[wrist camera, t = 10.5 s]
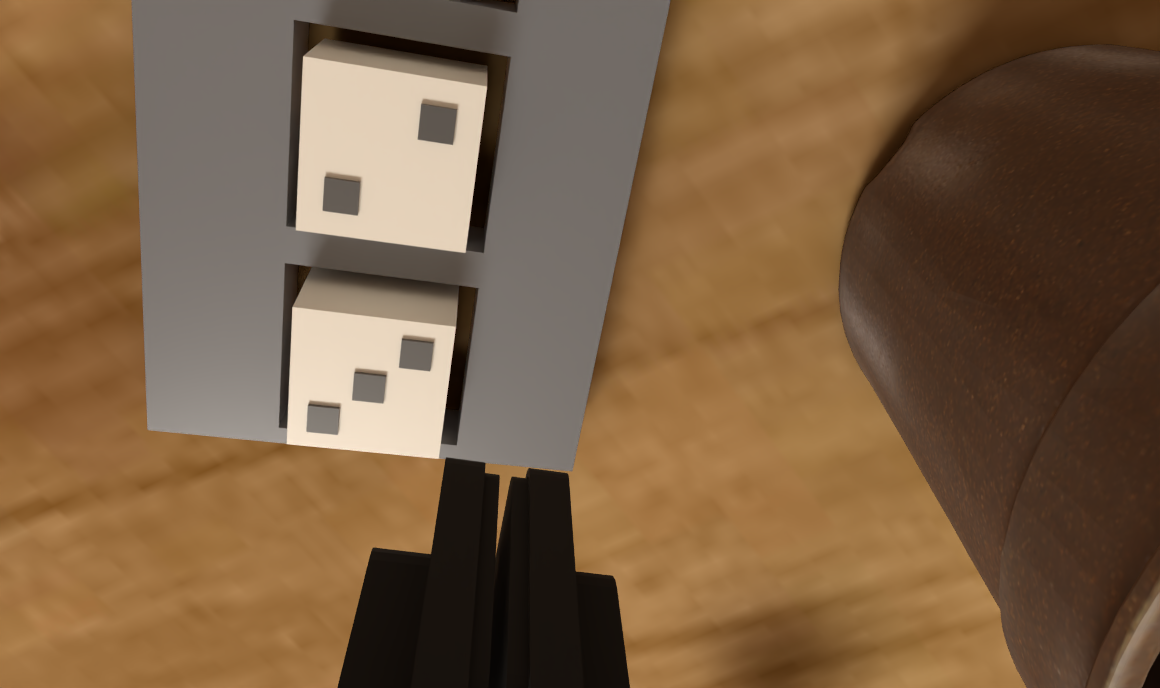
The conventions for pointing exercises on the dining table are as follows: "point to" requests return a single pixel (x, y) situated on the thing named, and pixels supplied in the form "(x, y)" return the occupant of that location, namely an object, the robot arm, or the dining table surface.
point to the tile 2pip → (388, 145)
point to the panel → (275, 248)
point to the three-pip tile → (370, 362)
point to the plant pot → (1031, 345)
